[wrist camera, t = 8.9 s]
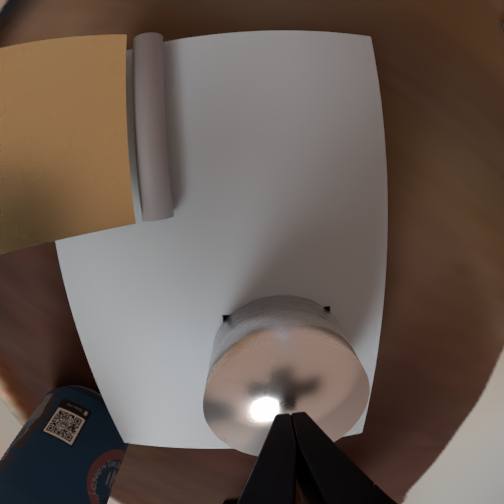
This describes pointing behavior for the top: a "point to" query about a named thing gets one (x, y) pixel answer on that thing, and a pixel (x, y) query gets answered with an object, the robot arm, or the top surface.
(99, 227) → the plate
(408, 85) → the top surface
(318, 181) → the block
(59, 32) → the top surface
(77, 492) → the soda can
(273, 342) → the steel pin
